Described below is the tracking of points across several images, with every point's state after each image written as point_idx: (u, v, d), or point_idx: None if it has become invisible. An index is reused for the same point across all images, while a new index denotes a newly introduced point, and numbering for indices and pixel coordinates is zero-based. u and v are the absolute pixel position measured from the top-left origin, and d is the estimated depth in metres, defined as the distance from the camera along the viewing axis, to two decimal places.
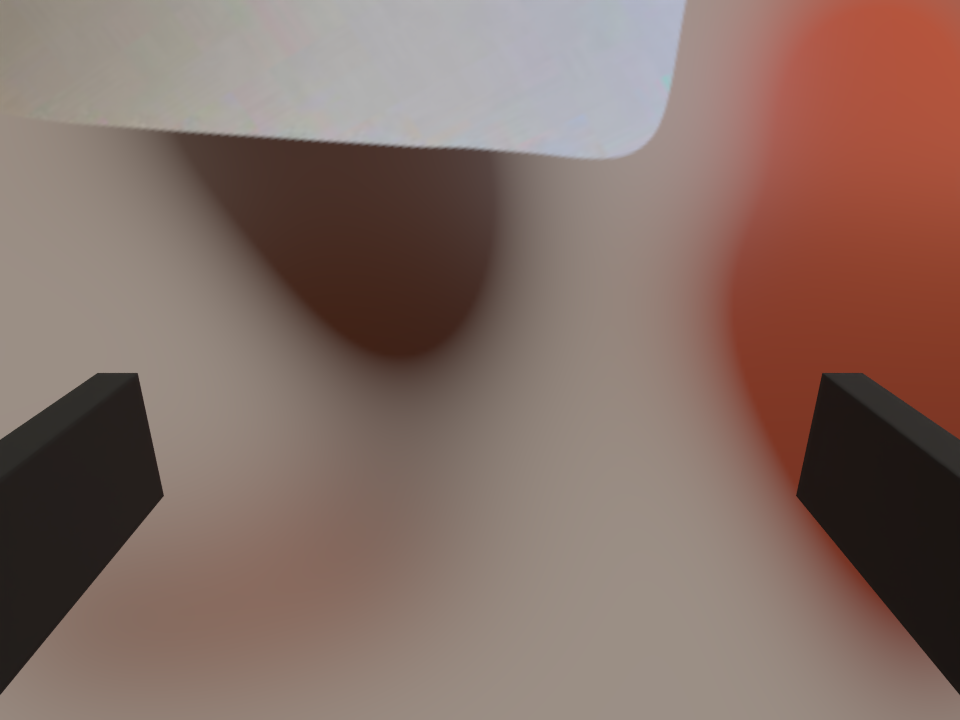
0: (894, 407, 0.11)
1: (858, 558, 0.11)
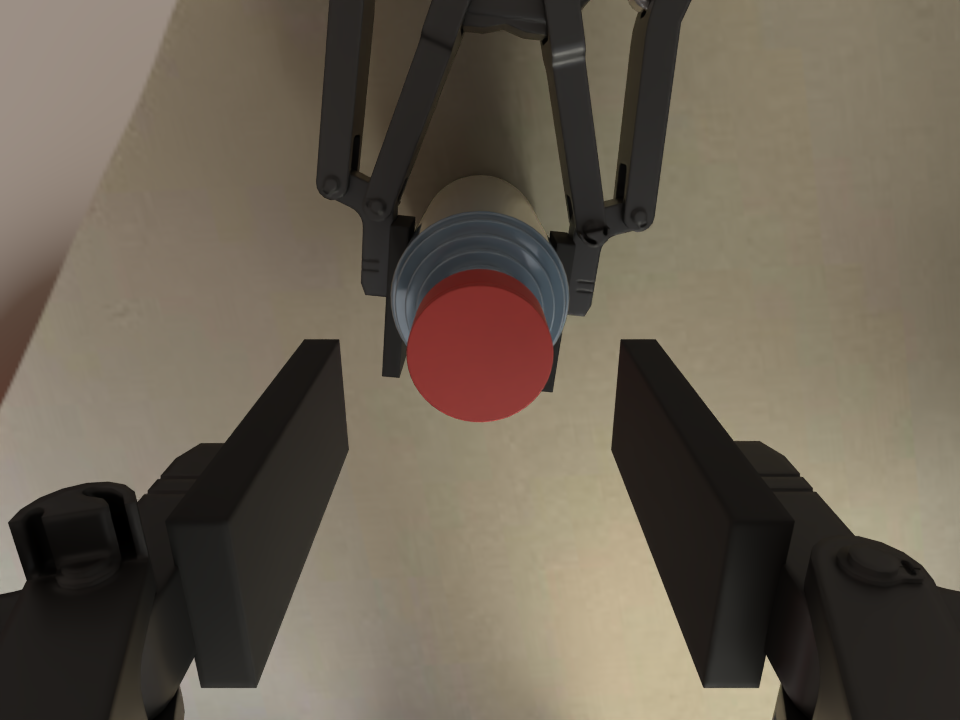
0: (659, 365, 0.12)
1: (633, 496, 0.13)
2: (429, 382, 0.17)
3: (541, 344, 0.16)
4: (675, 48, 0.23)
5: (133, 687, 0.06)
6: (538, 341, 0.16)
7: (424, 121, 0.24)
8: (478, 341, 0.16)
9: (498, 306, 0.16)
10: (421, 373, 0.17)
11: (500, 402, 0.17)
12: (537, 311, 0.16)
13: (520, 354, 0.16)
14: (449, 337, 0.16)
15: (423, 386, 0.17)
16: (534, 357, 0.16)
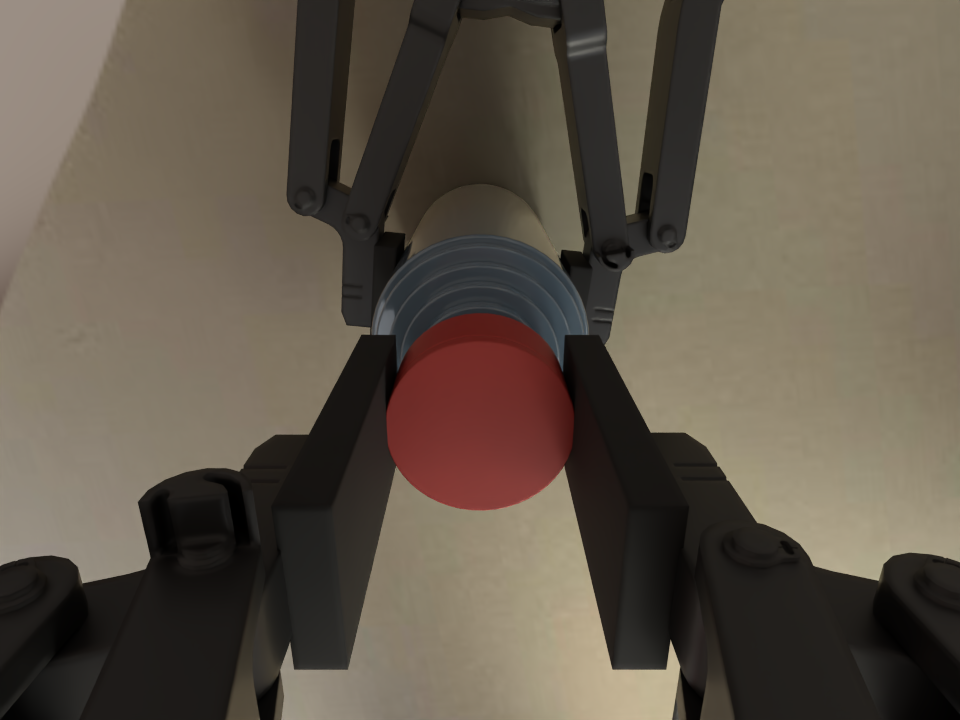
0: (596, 359, 0.13)
1: (572, 487, 0.13)
2: (414, 462, 0.13)
3: (560, 415, 0.13)
4: (714, 36, 0.19)
5: (247, 670, 0.06)
6: (556, 411, 0.12)
7: (414, 123, 0.20)
8: (478, 411, 0.12)
9: (504, 367, 0.12)
10: (404, 451, 0.13)
11: (506, 486, 0.13)
12: (555, 373, 0.12)
13: (532, 427, 0.13)
14: (440, 406, 0.12)
15: (407, 467, 0.13)
16: (551, 431, 0.13)
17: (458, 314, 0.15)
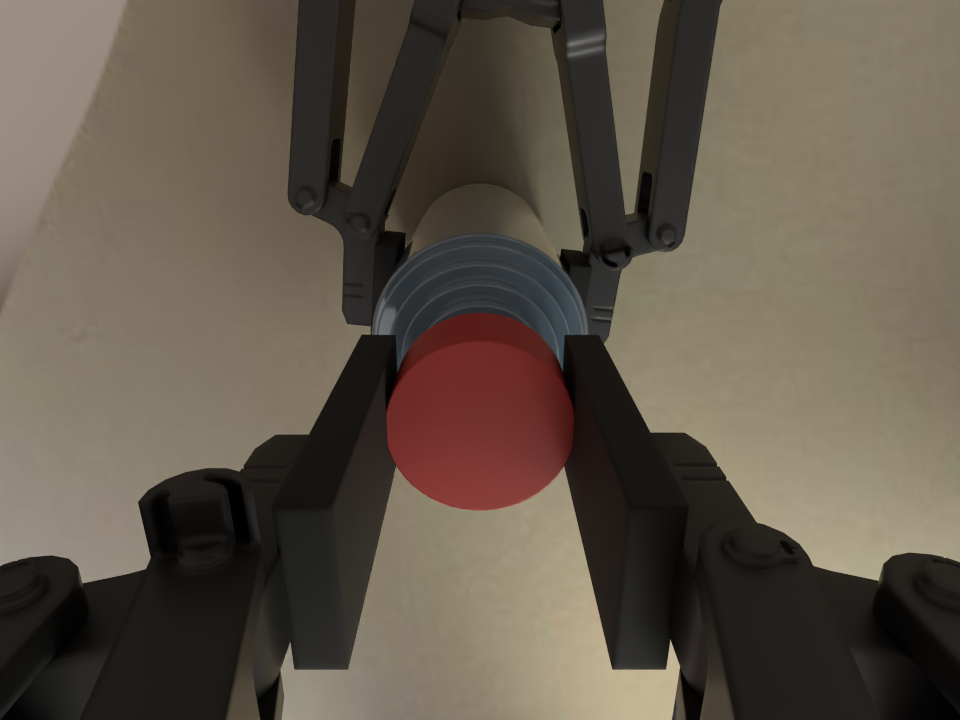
0: (596, 359, 0.13)
1: (571, 487, 0.13)
2: (552, 448, 0.13)
3: (409, 391, 0.12)
4: (713, 36, 0.19)
5: (247, 670, 0.06)
6: (409, 397, 0.12)
7: (414, 123, 0.20)
8: (466, 445, 0.13)
9: (417, 459, 0.13)
10: (550, 461, 0.13)
11: (506, 368, 0.12)
12: None
13: (439, 399, 0.12)
14: (489, 470, 0.13)
15: (562, 450, 0.13)
16: (428, 384, 0.12)
17: (458, 312, 0.15)
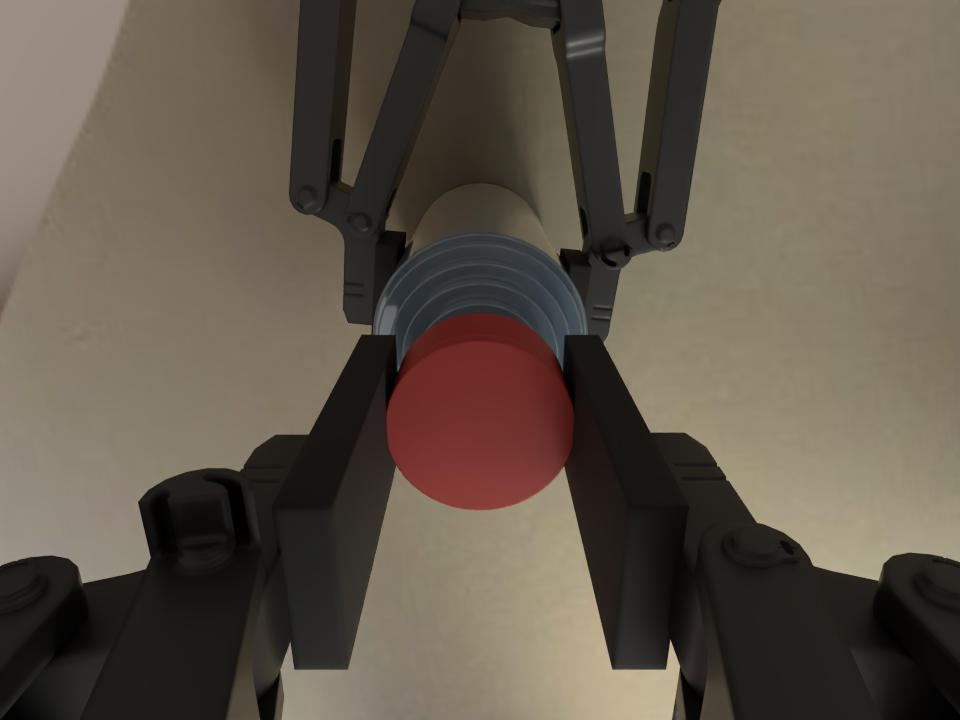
0: (596, 359, 0.13)
1: (571, 487, 0.13)
2: (439, 370, 0.12)
3: (500, 497, 0.13)
4: (711, 37, 0.19)
5: (247, 670, 0.06)
6: (504, 493, 0.13)
7: (415, 123, 0.20)
8: (501, 427, 0.13)
9: (548, 447, 0.13)
10: (452, 360, 0.12)
11: (417, 456, 0.13)
12: (541, 488, 0.13)
13: (485, 475, 0.13)
14: (505, 393, 0.12)
15: (433, 363, 0.12)
16: (482, 490, 0.13)
17: (458, 311, 0.15)
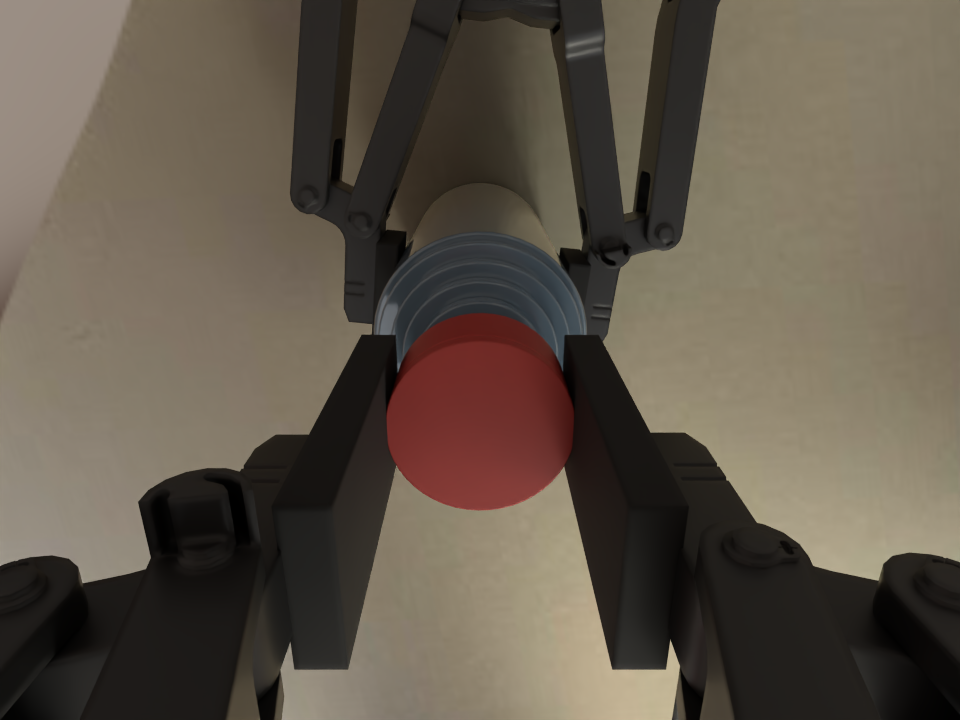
0: (596, 359, 0.13)
1: (571, 487, 0.13)
2: (464, 494, 0.13)
3: (521, 364, 0.12)
4: (710, 37, 0.20)
5: (247, 670, 0.06)
6: (515, 364, 0.12)
7: (415, 123, 0.20)
8: (462, 419, 0.13)
9: (443, 372, 0.12)
10: (448, 493, 0.13)
11: (546, 450, 0.13)
12: (482, 340, 0.12)
13: (513, 392, 0.12)
14: (434, 441, 0.13)
15: (463, 502, 0.13)
16: (529, 381, 0.12)
17: (459, 309, 0.15)
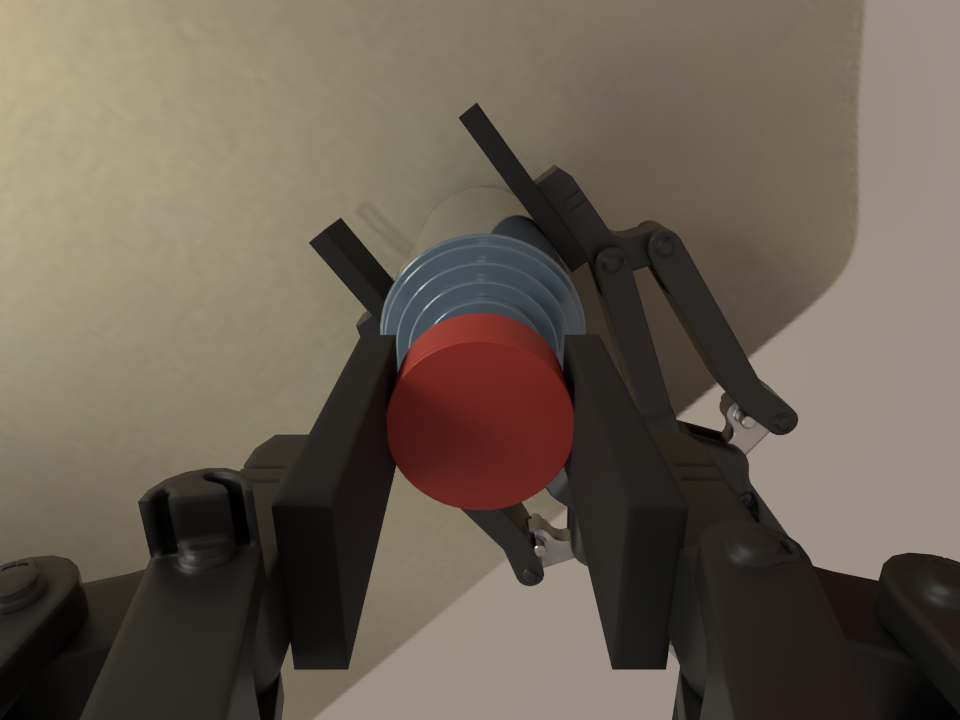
0: (596, 359, 0.13)
1: (571, 487, 0.13)
2: (464, 493, 0.13)
3: (521, 364, 0.12)
4: (492, 536, 0.27)
5: (247, 670, 0.06)
6: (515, 364, 0.12)
7: (624, 358, 0.24)
8: (463, 418, 0.13)
9: (443, 372, 0.12)
10: (449, 492, 0.13)
11: (547, 449, 0.13)
12: (482, 339, 0.12)
13: (513, 391, 0.12)
14: (434, 440, 0.13)
15: (463, 501, 0.13)
16: (529, 381, 0.12)
17: None
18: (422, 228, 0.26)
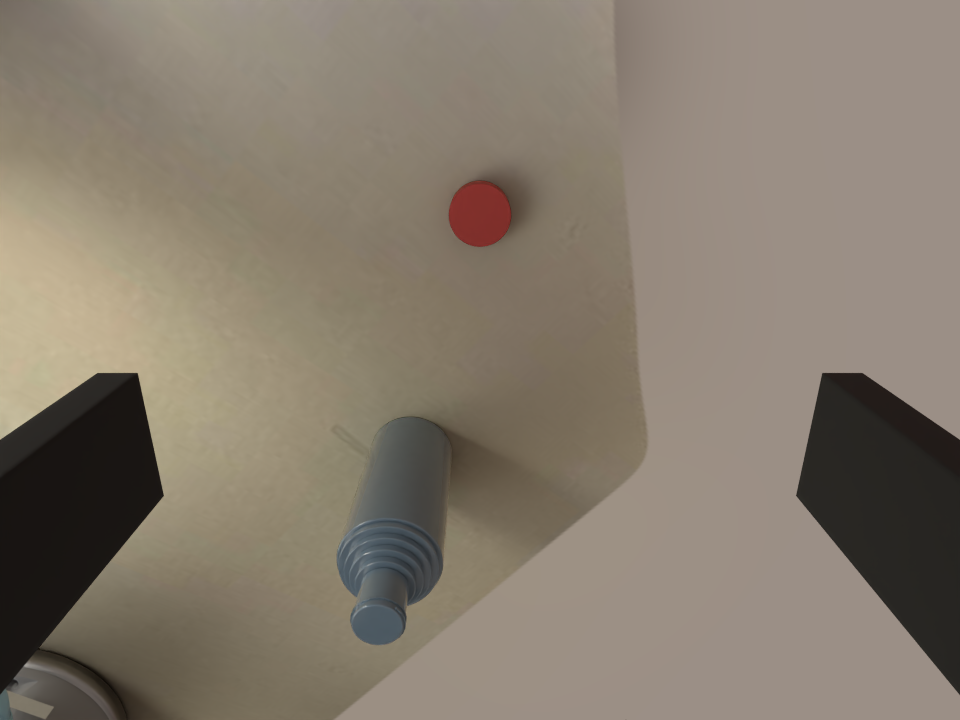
0: (894, 408, 0.11)
1: (857, 558, 0.11)
2: (474, 239, 0.39)
3: (492, 191, 0.38)
4: None
5: None
6: (491, 192, 0.38)
7: None
8: (474, 211, 0.39)
9: (468, 194, 0.38)
10: (469, 239, 0.39)
11: (501, 223, 0.39)
12: (480, 183, 0.38)
13: (490, 201, 0.38)
14: (465, 219, 0.39)
15: (474, 242, 0.39)
16: (495, 198, 0.38)
17: (411, 597, 0.34)
18: (369, 457, 0.43)
